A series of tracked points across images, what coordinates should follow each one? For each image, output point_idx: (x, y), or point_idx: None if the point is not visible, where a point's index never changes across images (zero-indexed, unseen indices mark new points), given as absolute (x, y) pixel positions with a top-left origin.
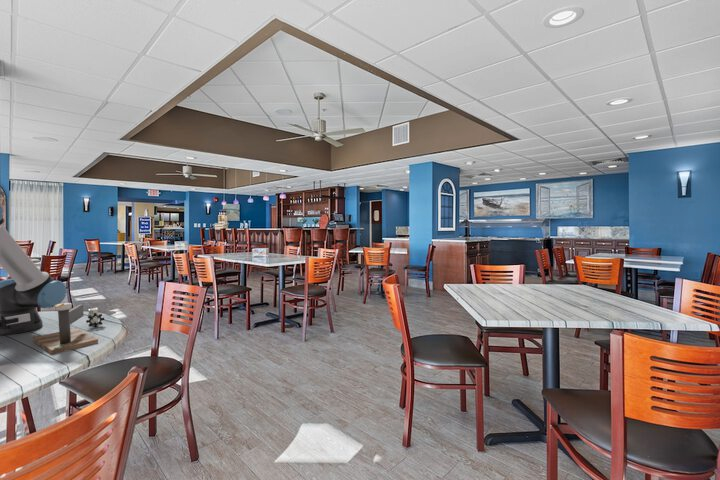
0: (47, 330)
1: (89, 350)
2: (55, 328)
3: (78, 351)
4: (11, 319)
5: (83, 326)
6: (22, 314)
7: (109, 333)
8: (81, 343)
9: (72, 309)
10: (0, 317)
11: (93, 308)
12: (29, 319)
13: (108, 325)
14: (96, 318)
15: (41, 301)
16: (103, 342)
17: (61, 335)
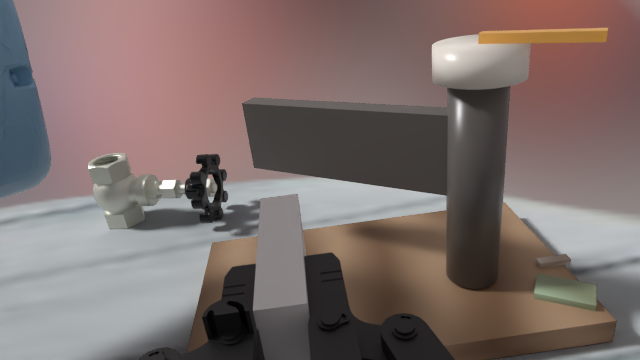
0: (14, 342)
1: (622, 238)
2: (25, 315)
3: (616, 263)
4: (343, 286)
5: (149, 242)
6: (268, 220)
7: (377, 196)
8: (537, 238)
9: (359, 105)
10: (167, 348)
11: (96, 159)
12: (304, 242)
13: (241, 195)
14: (209, 179)
15: (31, 140)
16: (511, 209)
17: (496, 241)
